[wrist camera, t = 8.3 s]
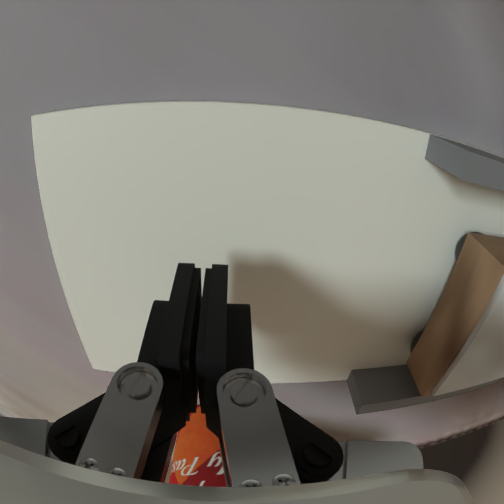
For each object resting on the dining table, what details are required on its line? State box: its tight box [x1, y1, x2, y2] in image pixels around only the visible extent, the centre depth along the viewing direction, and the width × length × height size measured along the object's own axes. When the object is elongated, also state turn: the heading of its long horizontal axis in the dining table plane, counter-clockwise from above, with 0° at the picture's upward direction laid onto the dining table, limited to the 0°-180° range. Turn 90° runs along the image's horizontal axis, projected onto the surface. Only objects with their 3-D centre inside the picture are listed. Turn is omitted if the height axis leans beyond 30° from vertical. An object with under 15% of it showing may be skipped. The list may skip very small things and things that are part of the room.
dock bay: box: [31, 101, 504, 414], centre depth 12 cm, size 14×27×3 cm, turn 86°
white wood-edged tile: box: [406, 232, 504, 397], centre depth 12 cm, size 8×7×4 cm
